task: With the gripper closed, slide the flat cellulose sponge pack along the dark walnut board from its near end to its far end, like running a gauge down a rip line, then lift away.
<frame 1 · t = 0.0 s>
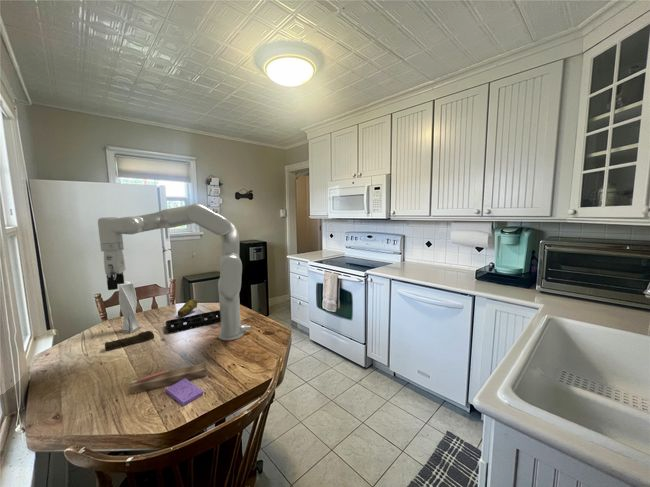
hand: (116, 286, 114), 31 cm above the table, fingers open, 9 cm apart
sponges: (184, 394, 93), on the table
carpenters pencil: (151, 377, 97), resting on walnut board
skyscraper: (130, 330, 144), on the table
hand tool: (130, 344, 129), on the table
black openwork frame: (195, 324, 151), on the table
walnut board: (171, 380, 99), on the table
potato: (187, 314, 166), on the table
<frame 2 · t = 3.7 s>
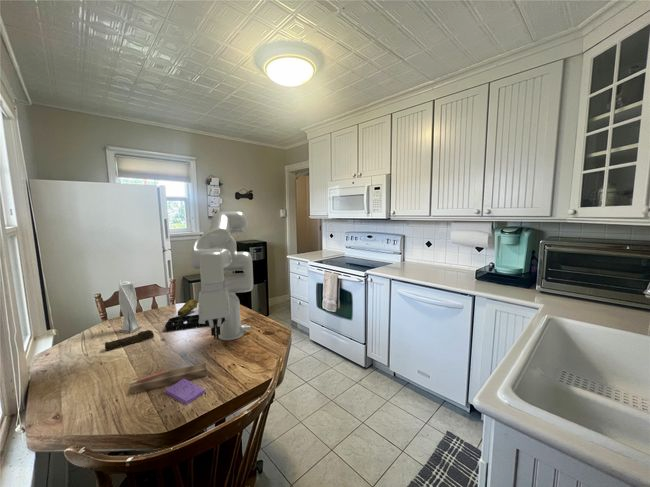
hand: (216, 336, 95), 18 cm above the table, fingers closed
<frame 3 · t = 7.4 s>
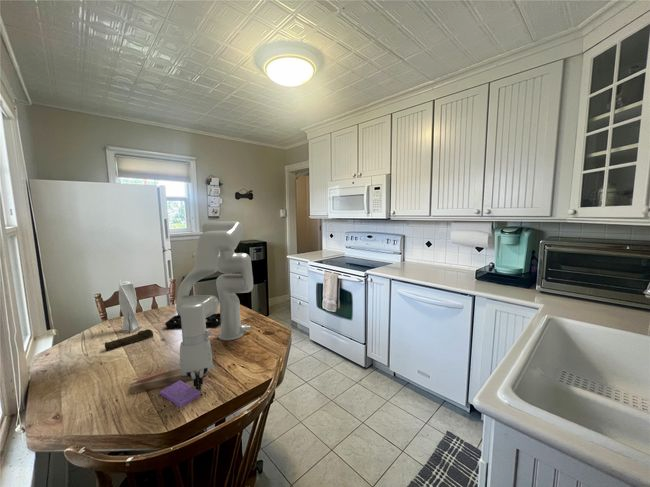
hand: (198, 386, 95), 1 cm above the table, fingers closed
sponges: (180, 396, 92), on the table
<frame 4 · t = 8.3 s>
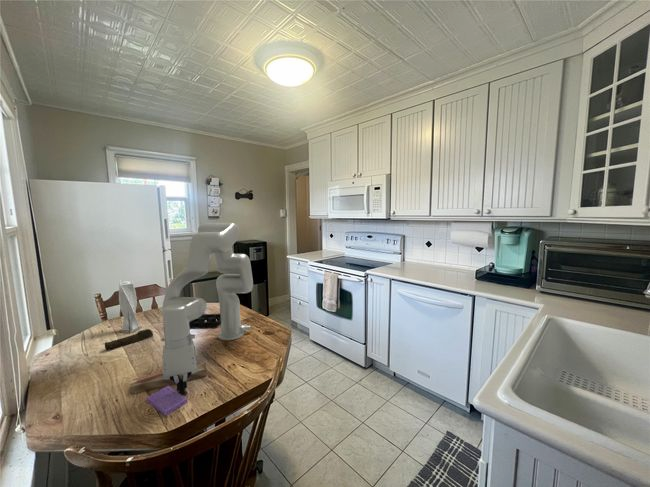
hand: (182, 390, 93), 1 cm above the table, fingers closed
sponges: (167, 403, 89), on the table, touching gripper
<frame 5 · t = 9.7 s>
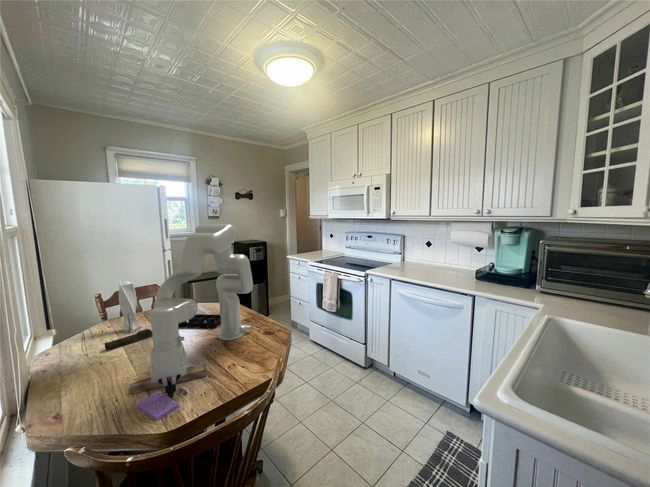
hand: (171, 393, 91), 1 cm above the table, fingers closed
sponges: (157, 408, 86), on the table
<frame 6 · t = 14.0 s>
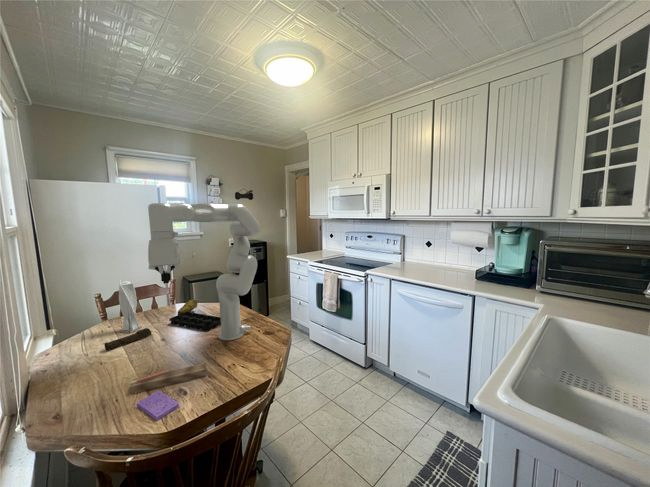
hand: (166, 282, 104), 35 cm above the table, fingers closed
at the end: sponges inside the target area (7.3 cm from its centre), on the table; sponges moved 8.4 cm from its start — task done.
